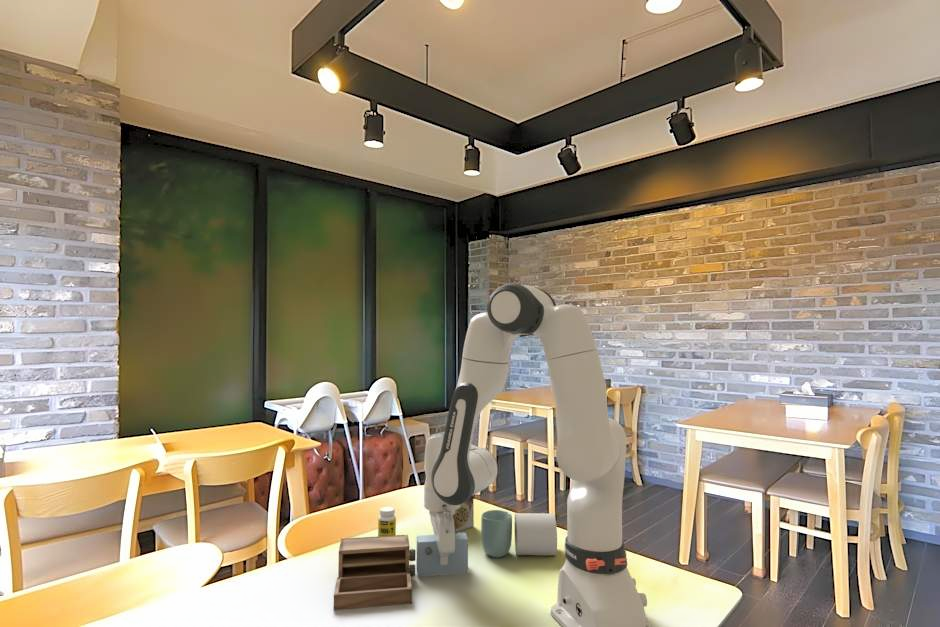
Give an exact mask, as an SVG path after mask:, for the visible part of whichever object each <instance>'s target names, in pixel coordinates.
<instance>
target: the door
mask: <svg viewBox="0 0 940 627" xmlns="http://www.w3.org/2000/svg"><path fill="white" fill-rule="evenodd" d="M416 574H417V577H418V578H419V577H431V576H445V575H458V574H460V575H461V574H469V538H468V536H467V533H466V532H455V551H454V553H451V554H449V555H448V564H447V565H441V564H440V553H439V551H438V547H437V543H436V539H435V535H434V534H423V535H421V534H420V535H416Z"/></svg>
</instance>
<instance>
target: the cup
mask: <svg viewBox="0 0 940 627" xmlns="http://www.w3.org/2000/svg"><path fill="white" fill-rule="evenodd" d="M512 516H513V515H512V514H511V513H510V512H508V511H506V510H501V509H490V510H486V511H484V512H483V513H482V514H481V519H480V520H481V521H480V522H481V526H480V529H481V542H482V543H481V545H482V549H483V550H484V553H485V554H486V555H488V556H489V557H491V558H501V557H502V558H503V557H505V556H506V555H508V554H509V552H510V550H511V547H512V541H513V517H512Z"/></svg>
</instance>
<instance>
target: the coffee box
mask: <svg viewBox="0 0 940 627" xmlns="http://www.w3.org/2000/svg"><path fill="white" fill-rule="evenodd" d="M474 508H475V507H474V495H473V496H471V497H470V498H469V499H468V500H466V501H465V502H464V503H462V504H461V505H460V507H459V508H458V509H457V510H455V514H454V515H453V518H454V526H455V533H459V532H460V531H464V530H466V529H470V528H473V527H474V525H475V522H474V521H475V520H474V519H475V518H474V513H475V512H474Z"/></svg>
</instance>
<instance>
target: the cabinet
mask: <svg viewBox="0 0 940 627" xmlns="http://www.w3.org/2000/svg"><path fill="white" fill-rule="evenodd" d="M416 552H417V549H414V548H411V549H410V540H409V534H396V535H394V536H378V535H377V536H365V537H364V536H363V537H352V538H351V537H348V538H341V539H340V543H339V547H338V576H337V577H336V582H335V588H334V592H333V610H347V609H357V608H359V609H360V608H369V607H371V608H372V607H381V606H394V605H406V604H407V605H409V604H412V600H413V598H412V597H413V596H412V595H413V594H412V592H413V588H412V577H415V576H416V564H412V563H411V564H410V562H415V561H416Z"/></svg>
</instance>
